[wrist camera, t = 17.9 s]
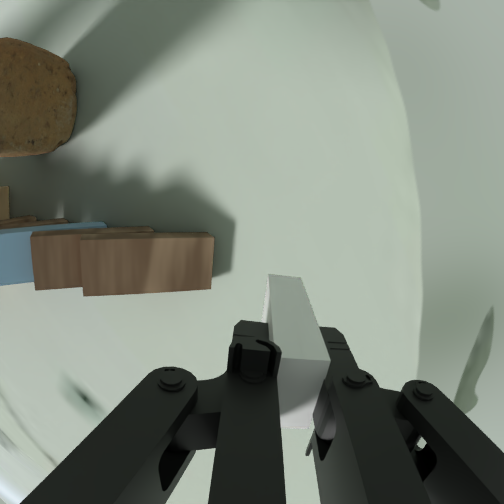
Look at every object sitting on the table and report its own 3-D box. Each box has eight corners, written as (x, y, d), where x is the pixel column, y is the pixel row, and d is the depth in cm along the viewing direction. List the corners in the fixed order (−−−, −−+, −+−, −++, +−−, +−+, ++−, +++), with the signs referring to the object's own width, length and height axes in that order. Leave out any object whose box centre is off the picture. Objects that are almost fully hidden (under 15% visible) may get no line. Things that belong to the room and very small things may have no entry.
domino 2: (147, 273, 31) (37, 281, 25) (148, 226, 30) (32, 231, 24) (153, 280, 30) (35, 290, 23) (154, 230, 28) (30, 236, 22)
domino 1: (203, 280, 31) (84, 286, 26) (206, 232, 30) (81, 234, 25) (210, 288, 29) (83, 296, 24) (214, 237, 28) (79, 240, 23)
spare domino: (102, 266, 31) (1, 278, 24) (102, 221, 30) (-4, 229, 22) (107, 272, 30) (0, 285, 22) (106, 225, 29) (-6, 234, 21)
